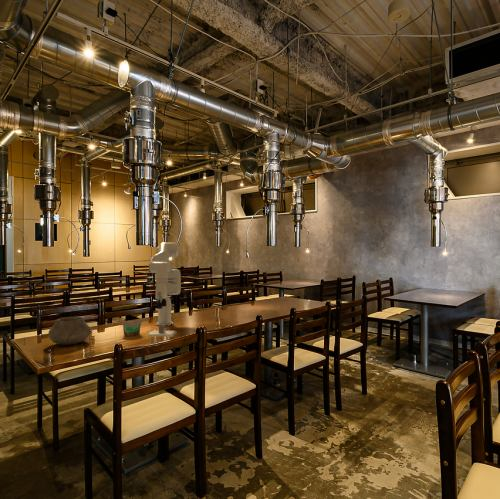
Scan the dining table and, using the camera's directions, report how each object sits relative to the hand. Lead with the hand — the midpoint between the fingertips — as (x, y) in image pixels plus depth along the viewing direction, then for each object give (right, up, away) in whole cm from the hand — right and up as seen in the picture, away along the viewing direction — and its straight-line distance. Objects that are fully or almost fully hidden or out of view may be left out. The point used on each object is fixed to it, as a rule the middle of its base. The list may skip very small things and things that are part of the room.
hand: (161, 307), depth 215 cm
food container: (-18, -18, -4) cm, 26 cm away
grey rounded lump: (-49, -18, -20) cm, 56 cm away
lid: (0, -17, 0) cm, 17 cm away
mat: (0, -18, 0) cm, 18 cm away
